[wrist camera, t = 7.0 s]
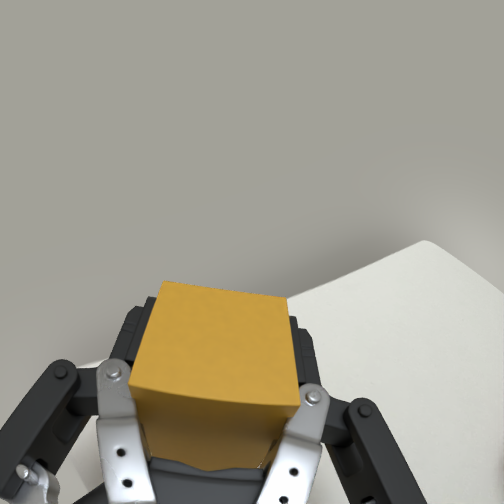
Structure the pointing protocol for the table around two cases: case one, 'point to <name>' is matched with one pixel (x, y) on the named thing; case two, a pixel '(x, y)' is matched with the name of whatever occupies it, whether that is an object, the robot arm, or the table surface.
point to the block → (215, 376)
